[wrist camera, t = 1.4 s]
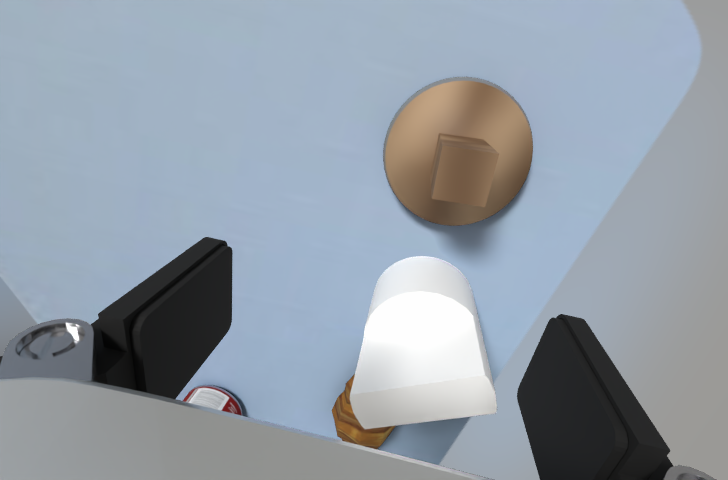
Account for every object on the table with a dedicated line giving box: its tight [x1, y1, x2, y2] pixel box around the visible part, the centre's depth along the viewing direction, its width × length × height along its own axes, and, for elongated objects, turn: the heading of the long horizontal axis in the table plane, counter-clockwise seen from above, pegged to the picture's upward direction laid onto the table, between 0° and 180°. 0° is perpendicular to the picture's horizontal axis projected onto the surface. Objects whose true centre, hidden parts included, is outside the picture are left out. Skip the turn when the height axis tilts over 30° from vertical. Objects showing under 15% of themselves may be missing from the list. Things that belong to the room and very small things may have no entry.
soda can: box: [183, 385, 242, 416], centre depth 38 cm, size 7×7×12 cm
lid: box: [385, 81, 533, 226], centre depth 25 cm, size 10×10×7 cm
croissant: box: [332, 374, 395, 449], centre depth 38 cm, size 14×7×5 cm, turn 173°
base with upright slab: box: [350, 256, 497, 429], centre depth 28 cm, size 9×9×12 cm
